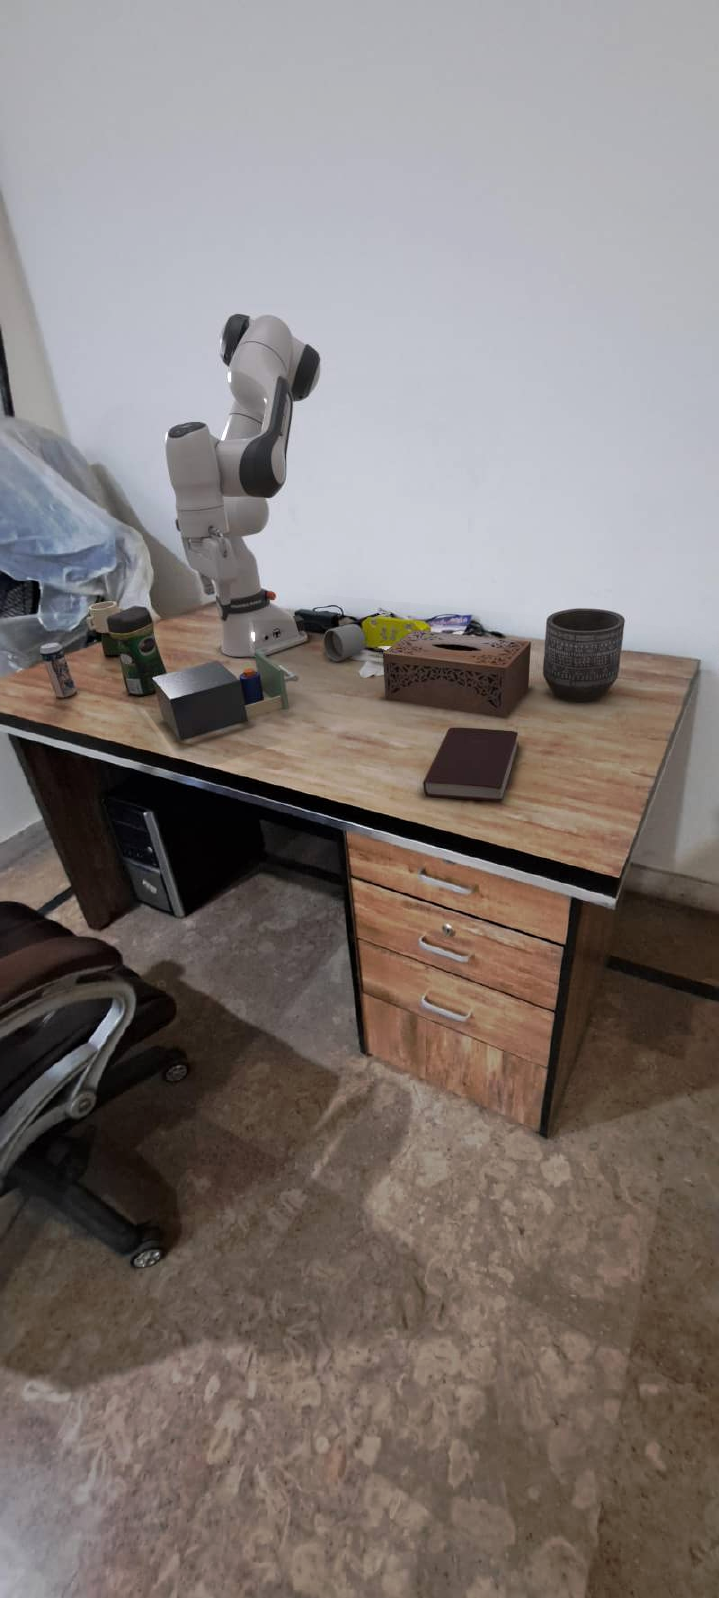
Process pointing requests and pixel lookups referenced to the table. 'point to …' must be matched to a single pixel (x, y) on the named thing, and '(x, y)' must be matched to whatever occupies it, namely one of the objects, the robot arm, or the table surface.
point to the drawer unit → (200, 699)
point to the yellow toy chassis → (389, 630)
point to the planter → (582, 653)
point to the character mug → (103, 623)
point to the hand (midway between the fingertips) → (217, 598)
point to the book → (472, 764)
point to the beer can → (58, 669)
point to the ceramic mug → (344, 641)
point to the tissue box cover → (457, 671)
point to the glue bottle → (251, 686)
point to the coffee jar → (136, 649)
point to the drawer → (271, 686)
